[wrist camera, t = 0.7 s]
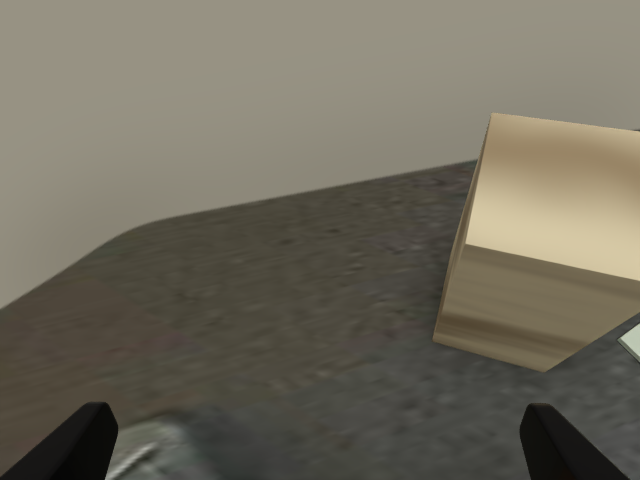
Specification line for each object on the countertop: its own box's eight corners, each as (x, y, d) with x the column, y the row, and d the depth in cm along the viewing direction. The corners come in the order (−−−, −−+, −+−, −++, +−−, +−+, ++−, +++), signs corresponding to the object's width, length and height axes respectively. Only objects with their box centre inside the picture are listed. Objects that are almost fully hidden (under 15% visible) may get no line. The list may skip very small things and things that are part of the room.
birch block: (544, 372, 23) (676, 288, 12) (431, 341, 24) (465, 243, 14) (553, 274, 25) (670, 135, 15) (451, 251, 27) (491, 112, 16)
